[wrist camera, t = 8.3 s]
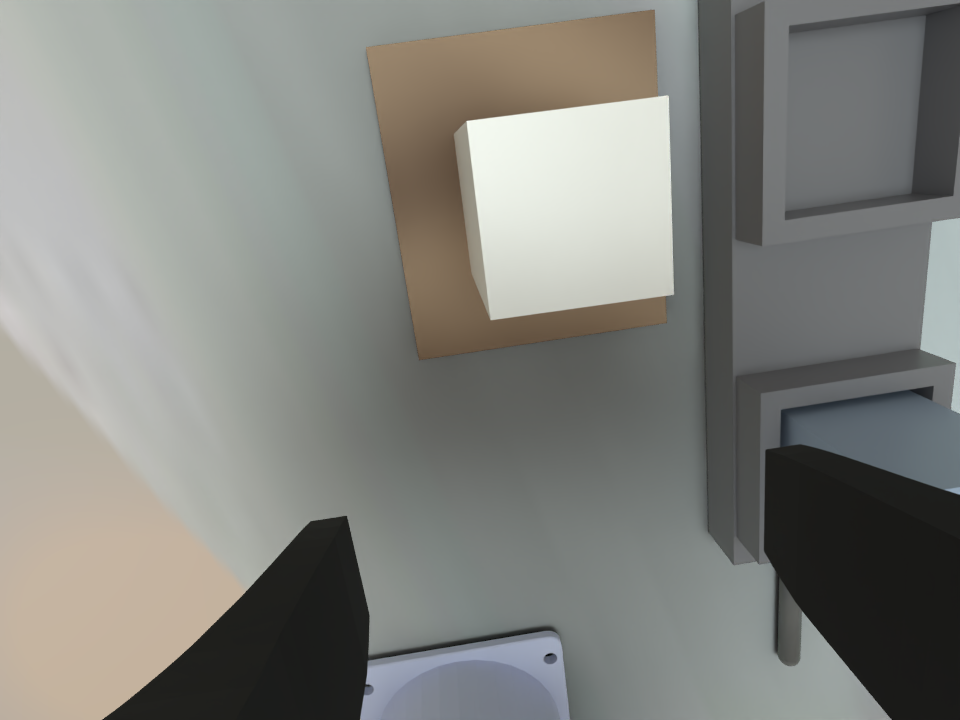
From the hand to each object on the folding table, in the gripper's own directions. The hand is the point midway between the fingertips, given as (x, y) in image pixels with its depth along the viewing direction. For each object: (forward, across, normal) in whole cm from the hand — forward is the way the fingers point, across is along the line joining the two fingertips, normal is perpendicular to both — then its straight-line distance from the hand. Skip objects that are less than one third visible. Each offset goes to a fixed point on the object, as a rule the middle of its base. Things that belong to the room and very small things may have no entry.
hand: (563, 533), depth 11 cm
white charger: (+10, -2, -5) cm, 11 cm away
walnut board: (+10, -2, -5) cm, 12 cm away
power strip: (+10, -10, +2) cm, 15 cm away
